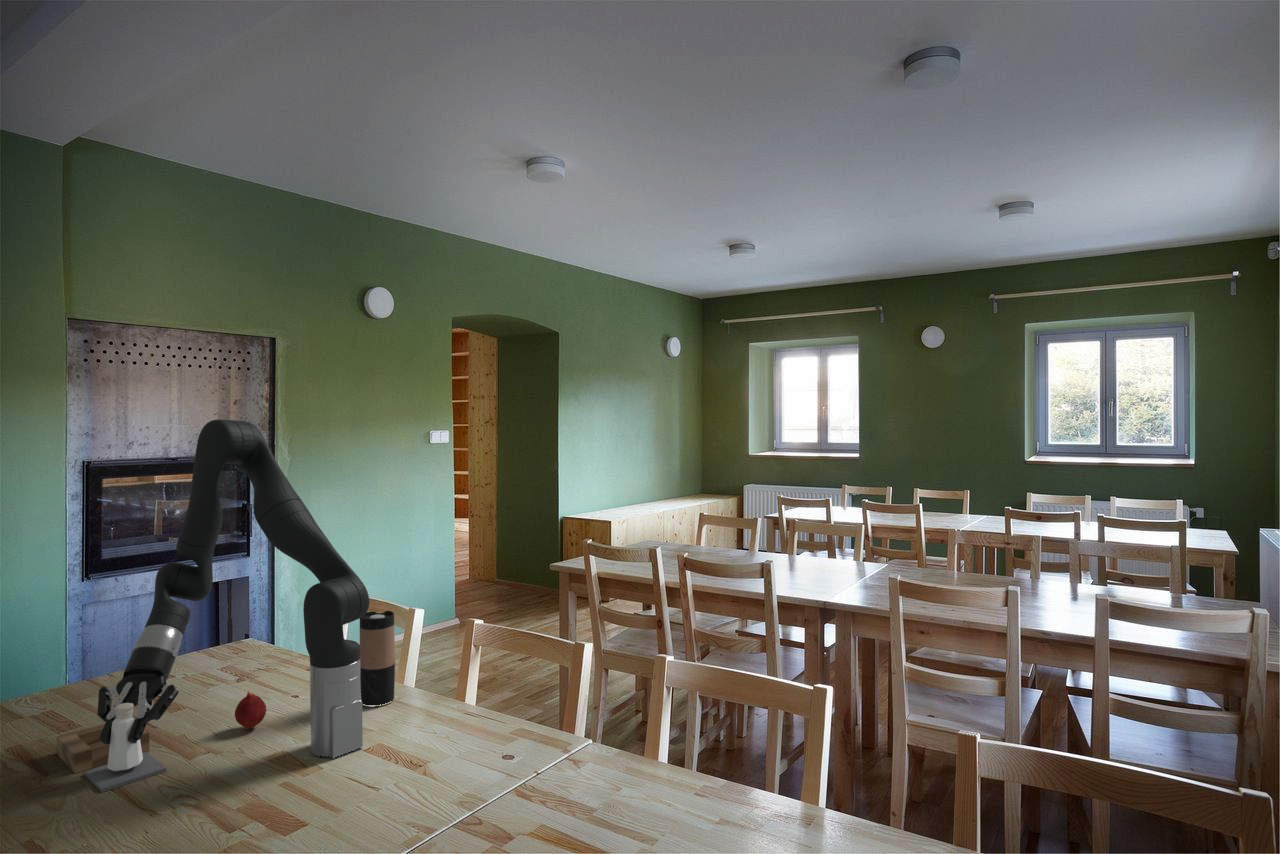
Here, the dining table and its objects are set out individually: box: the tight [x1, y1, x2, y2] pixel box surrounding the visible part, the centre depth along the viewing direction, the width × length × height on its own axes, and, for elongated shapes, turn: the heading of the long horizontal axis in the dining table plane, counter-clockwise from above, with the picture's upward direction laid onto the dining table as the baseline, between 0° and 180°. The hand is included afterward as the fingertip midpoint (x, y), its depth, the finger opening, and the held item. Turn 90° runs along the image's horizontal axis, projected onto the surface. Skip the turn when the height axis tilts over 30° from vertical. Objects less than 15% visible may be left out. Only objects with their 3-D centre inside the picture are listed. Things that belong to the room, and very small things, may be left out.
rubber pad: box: [83, 752, 167, 793], centre depth 137 cm, size 10×10×1 cm
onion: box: [234, 690, 267, 730], centre depth 156 cm, size 6×6×8 cm
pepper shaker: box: [107, 703, 143, 771], centre depth 137 cm, size 5×5×11 cm
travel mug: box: [359, 610, 396, 705], centre depth 171 cm, size 8×8×20 cm
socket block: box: [56, 723, 150, 774], centre depth 145 cm, size 12×12×4 cm
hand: (118, 741), depth 135 cm, fingers closed on pepper shaker, 4 cm apart
